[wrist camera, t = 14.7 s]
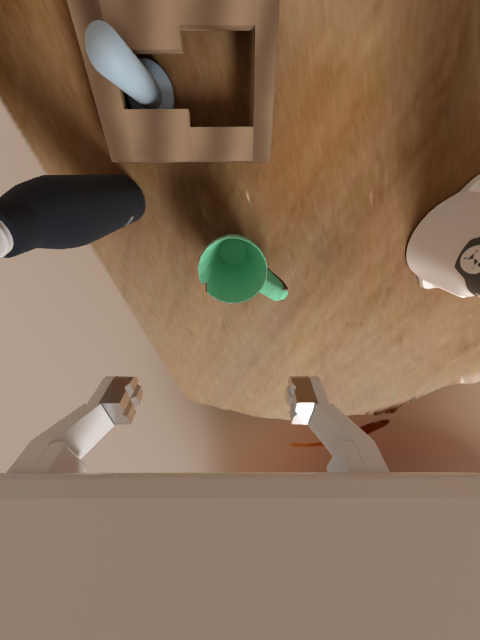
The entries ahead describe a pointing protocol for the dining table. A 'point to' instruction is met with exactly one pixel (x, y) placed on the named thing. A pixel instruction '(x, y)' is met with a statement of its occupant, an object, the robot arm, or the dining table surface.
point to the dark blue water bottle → (66, 211)
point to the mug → (237, 271)
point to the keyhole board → (166, 38)
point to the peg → (128, 69)
